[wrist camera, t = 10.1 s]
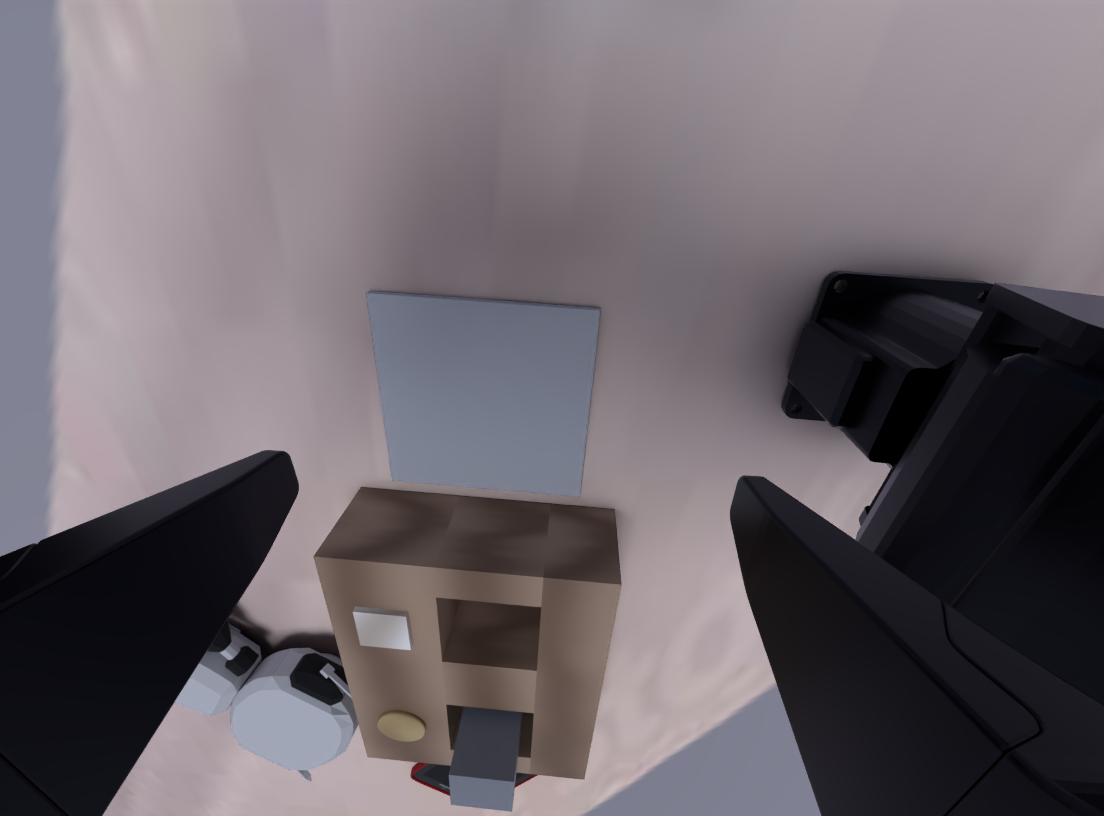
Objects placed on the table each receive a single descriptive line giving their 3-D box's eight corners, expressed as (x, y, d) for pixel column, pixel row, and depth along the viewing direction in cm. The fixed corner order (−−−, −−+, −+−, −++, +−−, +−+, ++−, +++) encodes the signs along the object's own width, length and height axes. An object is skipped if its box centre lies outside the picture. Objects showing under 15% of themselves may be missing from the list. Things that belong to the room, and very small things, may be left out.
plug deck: (600, 308, 19) (600, 310, 19) (579, 491, 24) (579, 496, 24) (370, 290, 20) (366, 293, 19) (394, 475, 24) (392, 480, 24)
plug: (530, 639, 30) (514, 781, 23) (527, 669, 32) (511, 811, 25) (479, 633, 30) (448, 774, 23) (480, 664, 32) (450, 804, 25)
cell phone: (582, 737, 37) (582, 751, 36) (479, 795, 43) (477, 808, 42) (505, 697, 35) (503, 711, 34) (409, 764, 41) (405, 777, 40)
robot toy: (170, 646, 35) (343, 730, 37) (112, 705, 31) (310, 796, 33) (205, 555, 30) (403, 659, 32) (141, 612, 26) (373, 726, 28)
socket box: (614, 509, 25) (621, 590, 20) (584, 698, 33) (584, 785, 29) (360, 487, 25) (310, 561, 20) (395, 679, 34) (365, 762, 29)
